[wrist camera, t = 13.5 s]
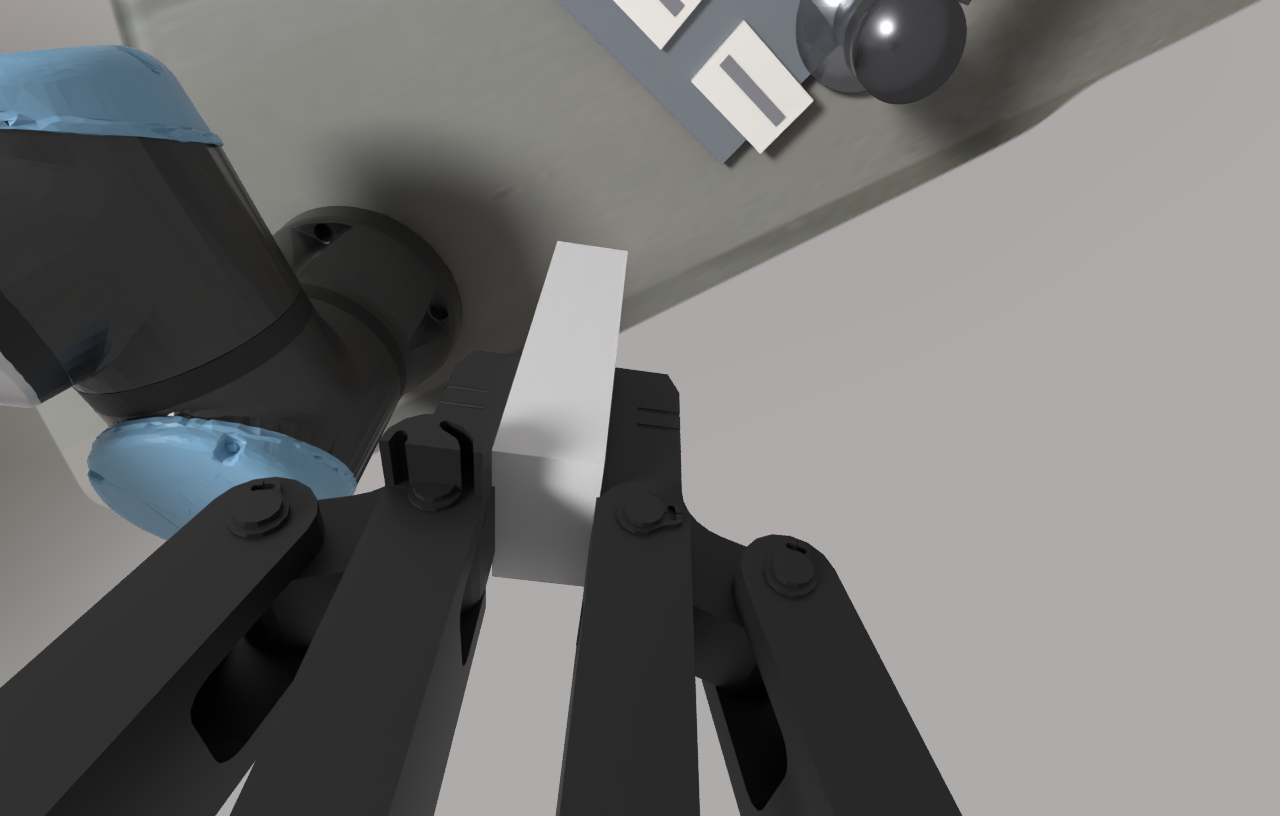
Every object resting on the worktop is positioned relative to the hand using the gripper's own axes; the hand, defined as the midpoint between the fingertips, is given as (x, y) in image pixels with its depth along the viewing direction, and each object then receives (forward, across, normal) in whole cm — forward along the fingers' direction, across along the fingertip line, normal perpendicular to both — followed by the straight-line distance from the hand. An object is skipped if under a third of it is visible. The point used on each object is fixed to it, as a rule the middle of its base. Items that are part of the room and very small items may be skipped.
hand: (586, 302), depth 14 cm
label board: (+32, +3, +2) cm, 33 cm away
